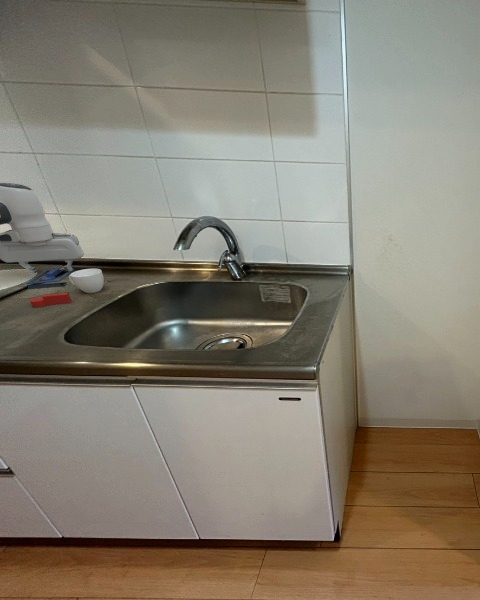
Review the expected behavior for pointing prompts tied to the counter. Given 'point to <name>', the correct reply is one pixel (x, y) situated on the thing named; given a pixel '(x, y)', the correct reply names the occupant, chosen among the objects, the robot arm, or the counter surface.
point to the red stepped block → (51, 299)
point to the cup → (88, 280)
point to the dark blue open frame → (47, 281)
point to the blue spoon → (51, 274)
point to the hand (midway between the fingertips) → (51, 271)
